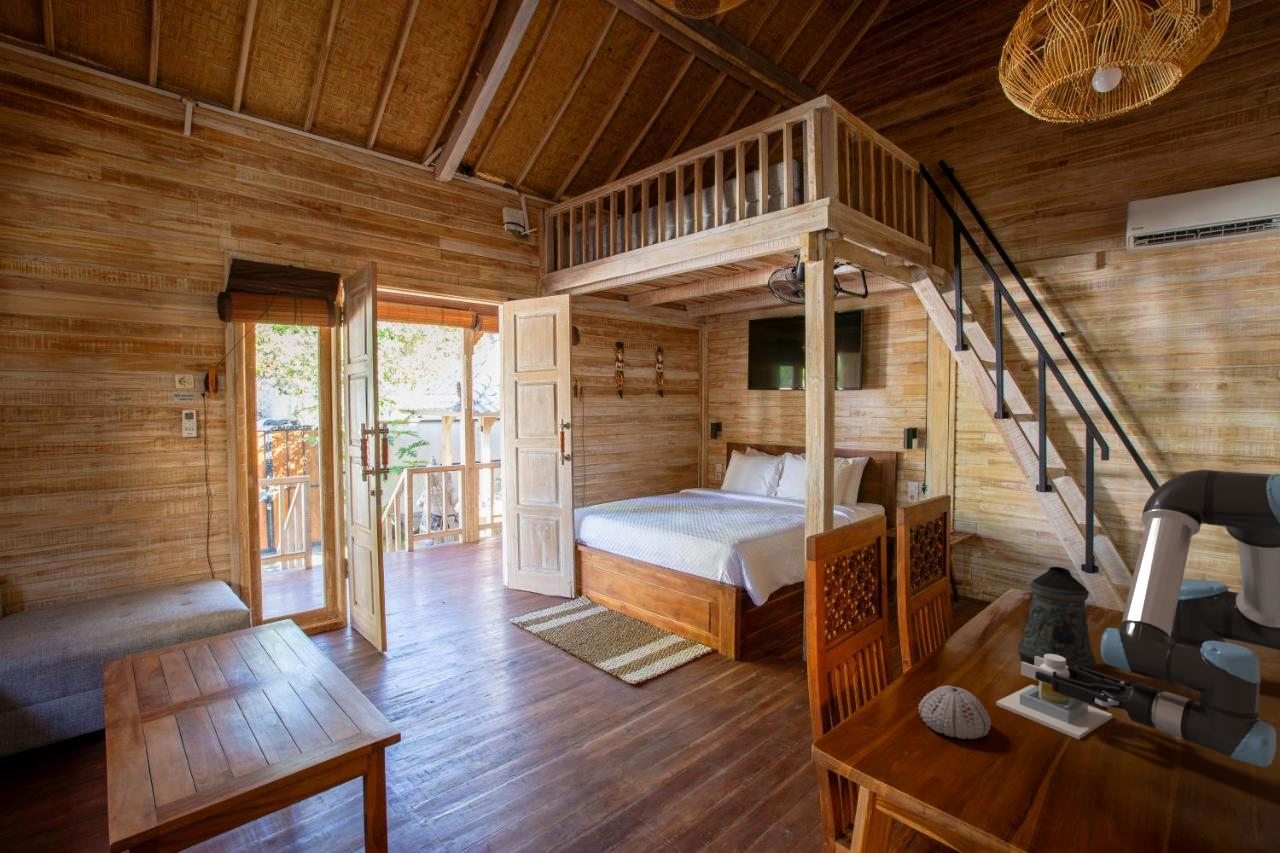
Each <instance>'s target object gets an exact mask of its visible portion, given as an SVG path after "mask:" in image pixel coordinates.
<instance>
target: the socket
mask: <svg viewBox="0 0 1280 853" xmlns="http://www.w3.org/2000/svg"><path fill="white" fill-rule="evenodd" d="M995 705H996V707H997V706H998V707H1000V708H1002V709H1004V710H1007V711H1009V712H1012V713H1015V714H1016V715H1019V716H1022V717H1024V718H1026V719H1028V720H1031V721H1033V722H1036V723H1038V724H1041V725H1042V726H1045V727H1048V728H1051V729H1053V730H1056V731H1057V732H1060V733H1063V734H1064V735H1068V736H1070V737H1072V738H1074V739H1077V740H1080V739H1082V738H1084V737H1086V736H1087V735H1088V734H1089V733H1091V732H1092V731H1094V730H1096V729H1097V728H1099V727H1101V726H1102V725H1104V724H1105V723H1107V722H1108V721H1110V720H1111V719H1113V714H1112V713H1109V712H1107V711H1106V710H1102V709H1100V708H1098V707H1095V706H1092V705H1090V704H1088V703H1085V702H1083V701H1080V700H1077V699H1074V698H1071V697H1069V704H1068V705H1067V706H1055V705H1052V704H1050V703H1047V702H1045V701H1042V700H1041V699H1040V698H1039V684H1038V685H1037V686H1036V685H1035V684H1030V685H1027V686H1025V687H1023V688H1022V689H1020V690H1017V691H1015V692H1013V693H1011V694H1009V695H1007V696H1005V697H1002V698H1000V699H998V700H997V701H996V703H995Z"/></svg>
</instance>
